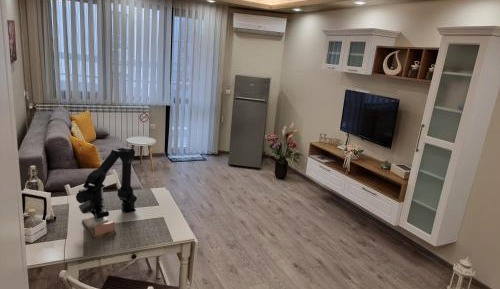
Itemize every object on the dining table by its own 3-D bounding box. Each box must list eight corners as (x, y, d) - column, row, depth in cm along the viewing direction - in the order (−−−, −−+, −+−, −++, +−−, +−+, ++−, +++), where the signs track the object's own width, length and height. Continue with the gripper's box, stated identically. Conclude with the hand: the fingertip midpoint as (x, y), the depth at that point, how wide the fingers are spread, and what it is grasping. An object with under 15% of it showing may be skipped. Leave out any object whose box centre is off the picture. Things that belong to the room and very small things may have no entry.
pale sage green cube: (104, 224, 189) (104, 215, 188) (108, 227, 186) (108, 219, 184) (93, 227, 185) (93, 218, 184) (97, 231, 182) (96, 222, 180)
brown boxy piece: (100, 217, 199) (99, 207, 197) (116, 233, 184) (116, 222, 182) (81, 222, 192) (81, 211, 190) (97, 239, 177) (96, 228, 175)
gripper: (74, 193, 185) (75, 219, 190) (86, 206, 173) (88, 234, 177) (95, 189, 193) (96, 214, 197) (108, 201, 180) (109, 228, 184)
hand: (97, 222), depth 189 cm, fingers closed
